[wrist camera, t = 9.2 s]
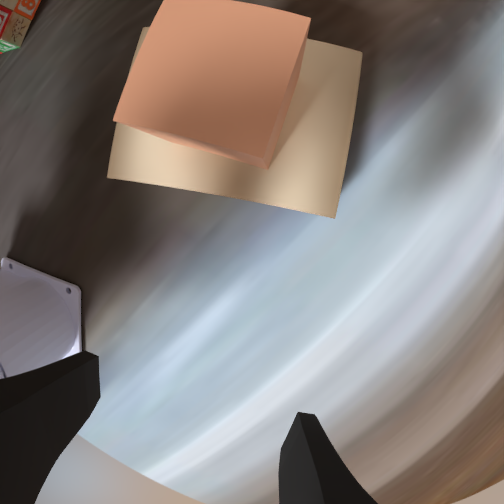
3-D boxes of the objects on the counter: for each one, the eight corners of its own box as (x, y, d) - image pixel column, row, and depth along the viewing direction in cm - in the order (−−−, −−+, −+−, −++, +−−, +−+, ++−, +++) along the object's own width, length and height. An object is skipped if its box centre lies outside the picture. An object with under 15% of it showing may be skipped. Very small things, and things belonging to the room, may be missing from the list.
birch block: (137, 178, 19) (106, 177, 15) (165, 51, 17) (143, 27, 13) (322, 211, 18) (334, 218, 15) (346, 76, 16) (362, 52, 13)
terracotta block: (171, 142, 14) (112, 120, 8) (203, 54, 13) (167, -6, 7) (267, 169, 14) (263, 158, 8) (298, 77, 13) (311, 18, 7)
